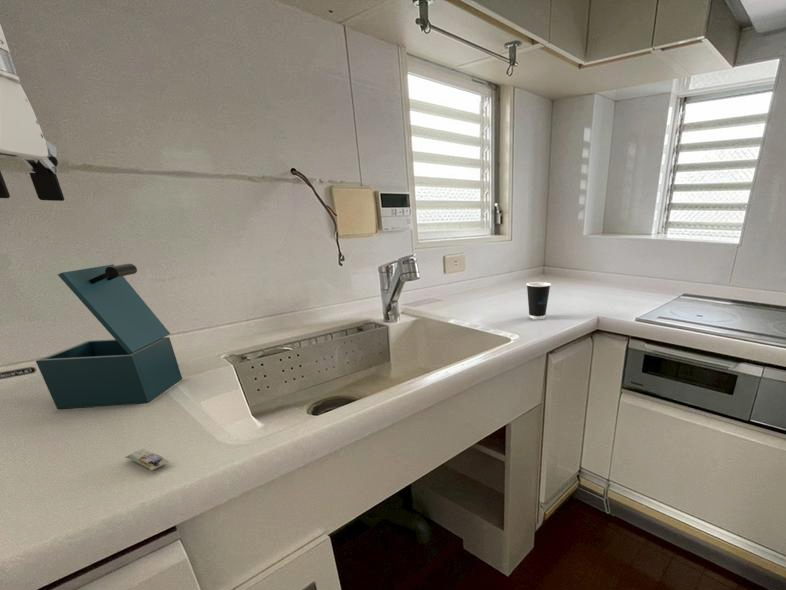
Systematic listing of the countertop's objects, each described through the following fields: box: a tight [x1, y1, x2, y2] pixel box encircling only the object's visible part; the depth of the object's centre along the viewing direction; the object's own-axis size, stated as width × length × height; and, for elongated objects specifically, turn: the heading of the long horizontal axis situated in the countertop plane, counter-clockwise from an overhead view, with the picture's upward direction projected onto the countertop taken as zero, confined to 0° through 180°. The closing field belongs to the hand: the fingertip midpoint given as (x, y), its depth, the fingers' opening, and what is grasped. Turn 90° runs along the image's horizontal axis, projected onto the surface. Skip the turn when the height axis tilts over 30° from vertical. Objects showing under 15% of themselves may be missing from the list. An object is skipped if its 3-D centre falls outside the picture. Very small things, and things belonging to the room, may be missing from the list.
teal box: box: [35, 336, 183, 410], centre depth 73 cm, size 14×12×9 cm
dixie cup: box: [525, 281, 552, 320], centre depth 130 cm, size 8×8×11 cm
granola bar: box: [124, 448, 171, 471], centre depth 53 cm, size 7×2×1 cm, turn 64°
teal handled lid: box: [57, 263, 171, 354], centre depth 70 cm, size 14×12×6 cm
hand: (25, 199), depth 61 cm, fingers open, 9 cm apart
